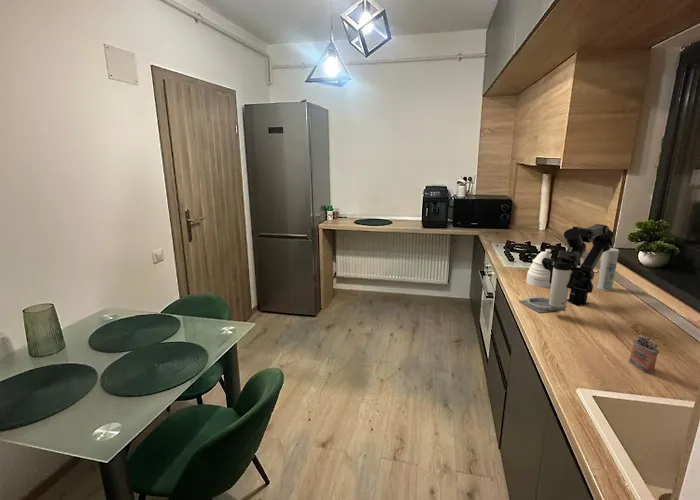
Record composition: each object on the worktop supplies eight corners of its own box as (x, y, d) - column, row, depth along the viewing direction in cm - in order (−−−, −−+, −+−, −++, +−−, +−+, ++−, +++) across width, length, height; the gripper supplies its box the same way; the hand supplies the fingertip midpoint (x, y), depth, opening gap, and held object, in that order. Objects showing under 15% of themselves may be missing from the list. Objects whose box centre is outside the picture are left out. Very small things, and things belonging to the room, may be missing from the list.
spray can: (602, 285, 189) (609, 247, 184) (615, 290, 183) (622, 250, 178) (593, 287, 187) (599, 248, 182) (605, 291, 181) (612, 251, 176)
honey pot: (559, 284, 192) (564, 249, 187) (545, 289, 185) (550, 253, 180) (535, 277, 202) (539, 244, 198) (521, 282, 195) (525, 248, 191)
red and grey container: (625, 360, 122) (631, 332, 120) (635, 359, 123) (641, 331, 120) (646, 374, 115) (653, 344, 112) (657, 374, 115) (663, 344, 112)
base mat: (543, 298, 173) (543, 298, 173) (565, 310, 161) (565, 309, 161) (518, 301, 170) (518, 300, 170) (538, 313, 158) (539, 312, 158)
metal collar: (543, 298, 173) (543, 295, 172) (563, 308, 161) (563, 305, 161) (520, 301, 170) (520, 298, 170) (539, 311, 159) (539, 308, 158)
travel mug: (566, 311, 151) (573, 263, 146) (548, 308, 154) (553, 261, 149) (567, 305, 156) (573, 259, 151) (549, 302, 159) (554, 257, 154)
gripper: (546, 238, 158) (530, 269, 154) (596, 247, 144) (579, 281, 140) (552, 253, 165) (537, 283, 161) (600, 262, 150) (585, 295, 147)
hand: (558, 285), depth 152 cm, fingers closed on travel mug, 6 cm apart
